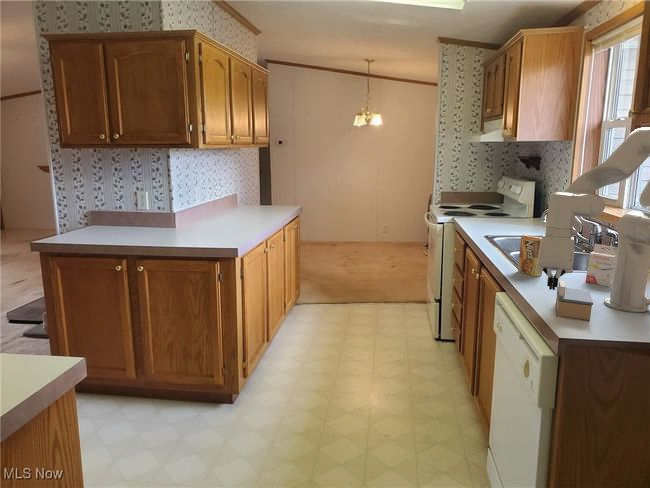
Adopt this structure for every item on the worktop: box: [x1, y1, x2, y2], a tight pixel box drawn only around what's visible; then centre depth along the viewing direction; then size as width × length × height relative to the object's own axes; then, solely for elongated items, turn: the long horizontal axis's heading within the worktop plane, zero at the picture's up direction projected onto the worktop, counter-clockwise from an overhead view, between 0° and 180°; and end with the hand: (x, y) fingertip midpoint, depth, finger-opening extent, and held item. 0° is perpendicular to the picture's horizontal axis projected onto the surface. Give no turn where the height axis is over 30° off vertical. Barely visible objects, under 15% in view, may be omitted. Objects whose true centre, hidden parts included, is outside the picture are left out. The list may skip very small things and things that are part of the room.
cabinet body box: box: [555, 293, 593, 322], centre depth 157 cm, size 9×13×5 cm
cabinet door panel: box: [556, 279, 594, 306], centre depth 156 cm, size 9×13×4 cm
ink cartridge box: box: [585, 243, 618, 287], centre depth 190 cm, size 9×5×15 cm, turn 48°
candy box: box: [517, 234, 543, 277], centre depth 201 cm, size 9×4×15 cm, turn 33°
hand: (551, 288), depth 158 cm, fingers closed
